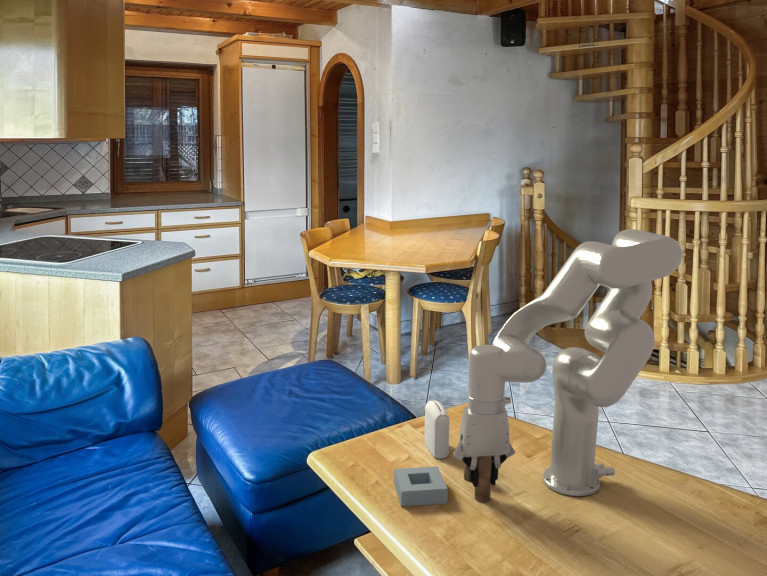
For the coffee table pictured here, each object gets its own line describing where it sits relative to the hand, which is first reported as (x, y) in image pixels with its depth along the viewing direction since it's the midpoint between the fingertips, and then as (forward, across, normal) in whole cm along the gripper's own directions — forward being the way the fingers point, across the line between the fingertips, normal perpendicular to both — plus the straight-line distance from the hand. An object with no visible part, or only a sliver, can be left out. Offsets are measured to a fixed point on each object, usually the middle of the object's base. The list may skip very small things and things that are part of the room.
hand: (483, 482), depth 148 cm
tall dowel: (+4, 0, 0) cm, 4 cm away
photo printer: (+4, +5, -24) cm, 25 cm away
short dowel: (+4, 0, -9) cm, 10 cm away
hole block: (+4, +13, -4) cm, 14 cm away
